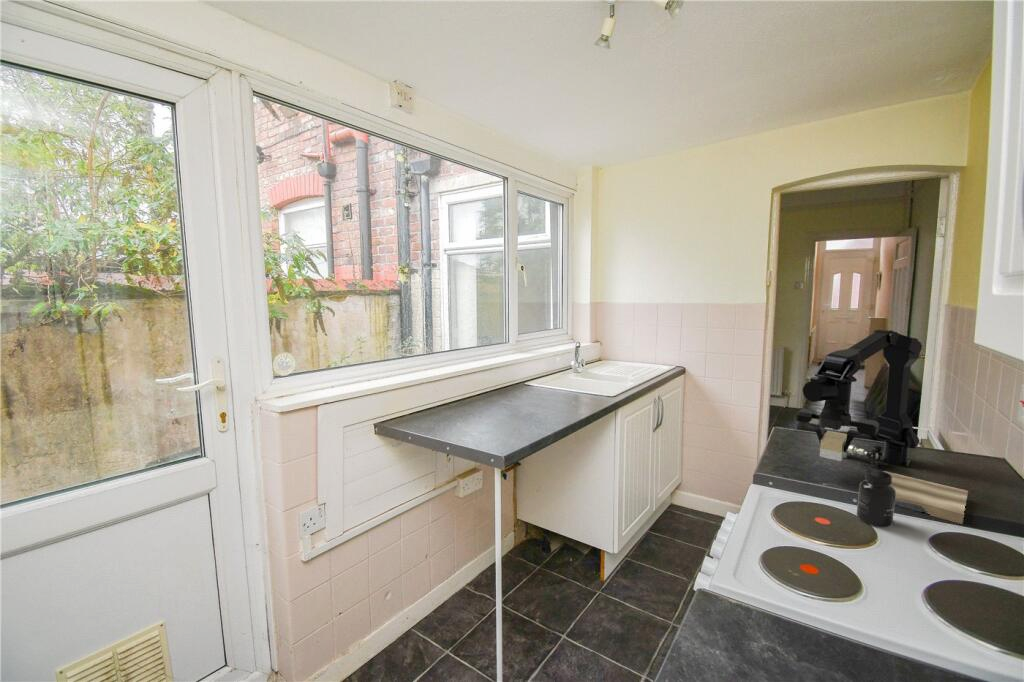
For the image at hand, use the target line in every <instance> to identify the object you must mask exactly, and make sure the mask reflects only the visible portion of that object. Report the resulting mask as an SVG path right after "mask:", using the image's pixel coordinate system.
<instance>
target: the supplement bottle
mask: <svg viewBox="0 0 1024 682" xmlns="http://www.w3.org/2000/svg"><path fill="white" fill-rule="evenodd" d="M864 478H865V479H864V480H862V481H861V482H859V485H858V494H857V496H858V497H857V507H856V516H857V518H858V519H859V521H862V522H863V523H865V524H868V525H870V526H874V527H878V528H889V527H891V526H892V525H893V523H894V515H895V497H896V491H895V489H894V488H893V487H892V486H891V484H892V476H891V475H890V474H888V473H885V472H883V471H882V470H878V469H867V470H866V471H865V476H864Z"/></svg>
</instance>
